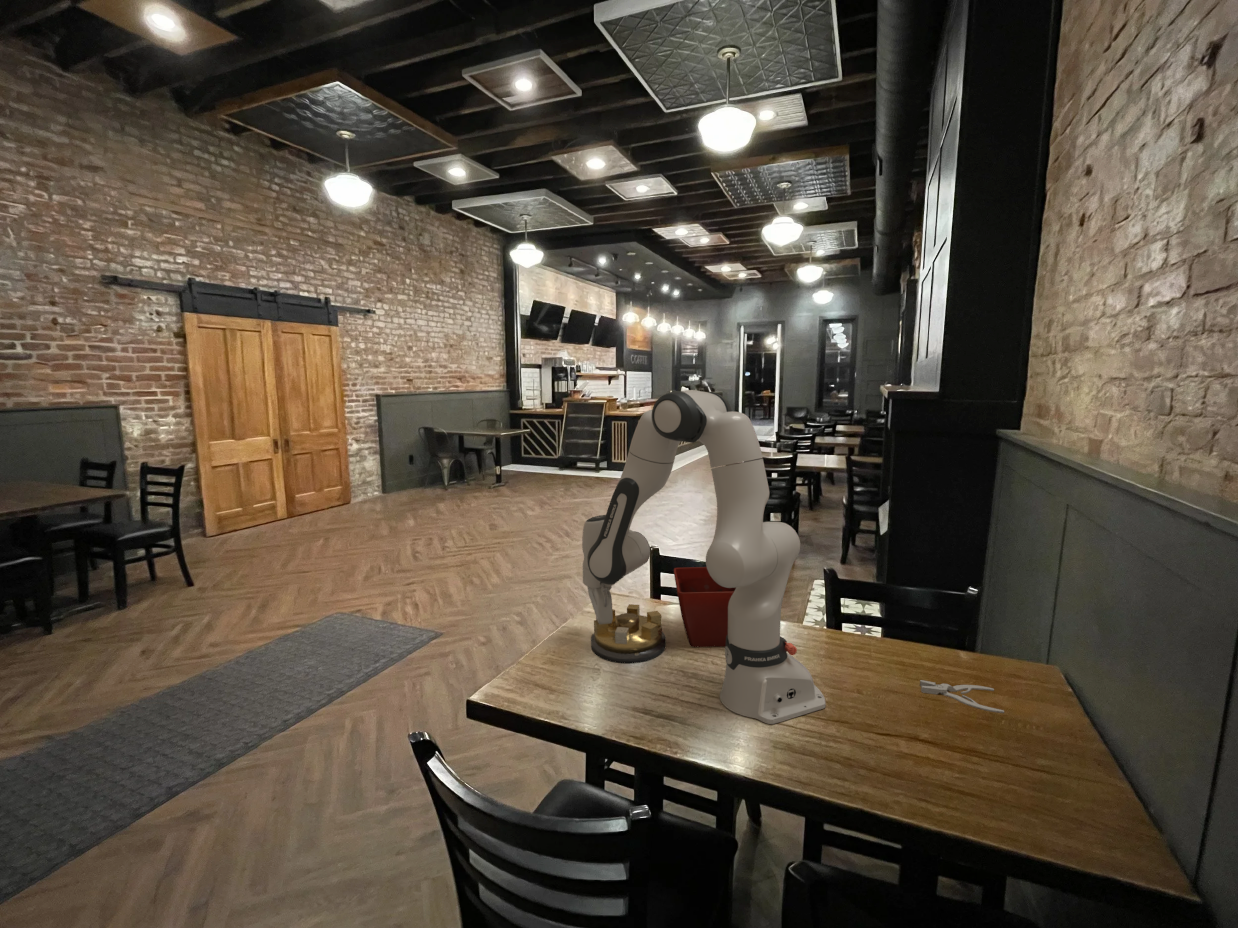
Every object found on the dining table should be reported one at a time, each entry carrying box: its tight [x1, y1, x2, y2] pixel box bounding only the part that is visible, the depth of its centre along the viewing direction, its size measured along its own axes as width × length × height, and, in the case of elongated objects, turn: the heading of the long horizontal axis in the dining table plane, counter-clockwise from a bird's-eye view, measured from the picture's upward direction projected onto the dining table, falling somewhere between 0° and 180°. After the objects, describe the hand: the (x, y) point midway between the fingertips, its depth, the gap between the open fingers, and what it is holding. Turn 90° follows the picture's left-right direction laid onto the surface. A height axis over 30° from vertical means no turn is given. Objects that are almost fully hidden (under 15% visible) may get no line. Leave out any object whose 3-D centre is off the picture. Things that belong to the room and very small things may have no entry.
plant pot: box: [673, 566, 736, 648], centre depth 153 cm, size 19×19×17 cm
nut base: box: [590, 631, 667, 664], centre depth 151 cm, size 20×20×2 cm
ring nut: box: [593, 603, 663, 653], centre depth 150 cm, size 18×18×6 cm
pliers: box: [919, 679, 1005, 714], centre depth 124 cm, size 10×2×15 cm
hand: (600, 625), depth 150 cm, fingers closed, pressing on ring nut
